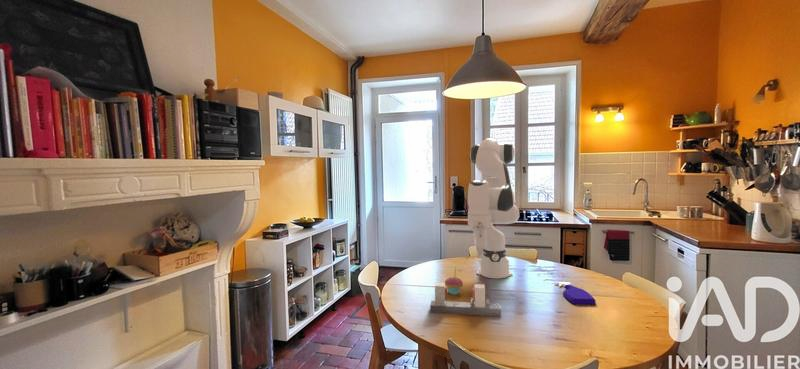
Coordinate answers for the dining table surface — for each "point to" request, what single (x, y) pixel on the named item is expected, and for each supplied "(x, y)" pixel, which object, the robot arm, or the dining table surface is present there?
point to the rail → (460, 305)
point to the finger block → (479, 295)
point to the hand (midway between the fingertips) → (479, 254)
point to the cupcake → (453, 284)
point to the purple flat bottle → (576, 294)
